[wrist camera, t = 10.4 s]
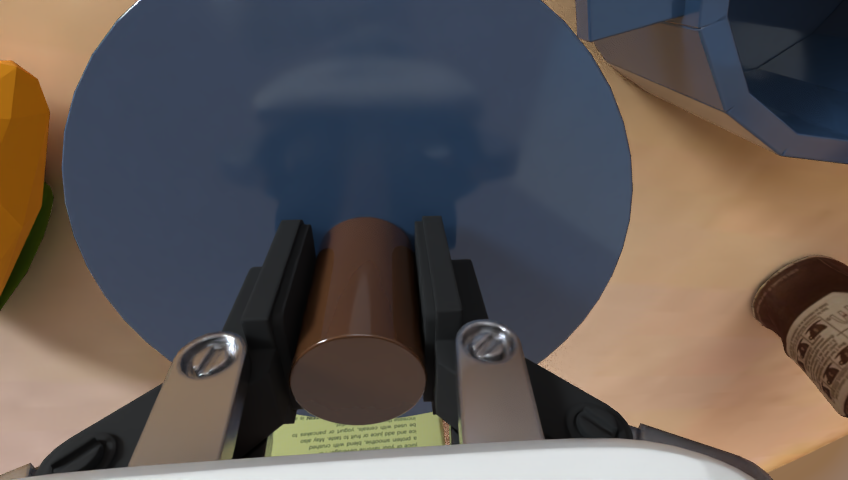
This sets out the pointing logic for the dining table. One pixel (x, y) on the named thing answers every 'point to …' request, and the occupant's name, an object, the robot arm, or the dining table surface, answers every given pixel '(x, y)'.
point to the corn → (21, 174)
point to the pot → (737, 65)
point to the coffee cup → (811, 321)
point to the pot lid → (347, 175)
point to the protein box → (356, 435)
